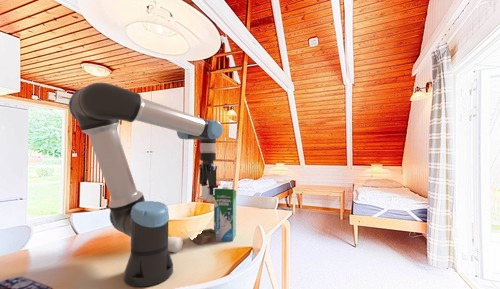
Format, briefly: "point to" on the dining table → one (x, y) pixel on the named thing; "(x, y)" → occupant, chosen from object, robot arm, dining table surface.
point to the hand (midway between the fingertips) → (207, 200)
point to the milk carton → (225, 214)
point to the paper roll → (174, 244)
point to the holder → (205, 237)
